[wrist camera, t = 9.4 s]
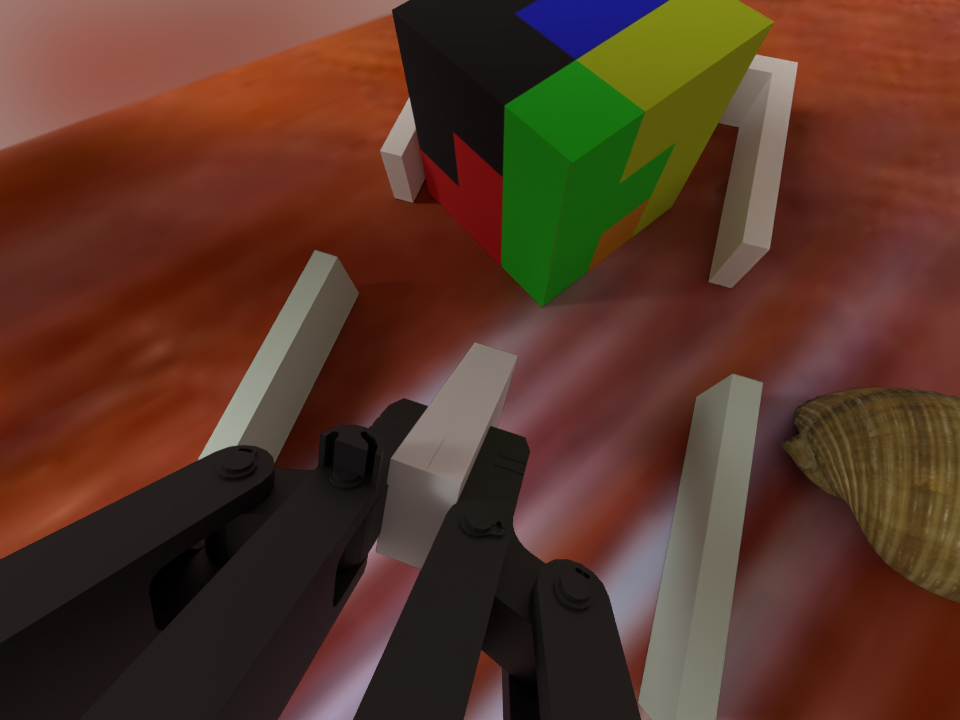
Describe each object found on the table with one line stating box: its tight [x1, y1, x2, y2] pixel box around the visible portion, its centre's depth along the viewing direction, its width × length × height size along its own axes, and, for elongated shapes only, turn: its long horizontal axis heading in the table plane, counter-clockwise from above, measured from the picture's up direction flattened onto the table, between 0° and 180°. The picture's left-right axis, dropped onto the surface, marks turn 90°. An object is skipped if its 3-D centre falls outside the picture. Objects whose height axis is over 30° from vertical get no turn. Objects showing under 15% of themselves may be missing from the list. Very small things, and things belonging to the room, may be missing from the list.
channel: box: [198, 250, 763, 720], centre depth 19 cm, size 20×13×4 cm, turn 71°
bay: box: [380, 55, 798, 288], centre depth 25 cm, size 19×13×4 cm, turn 71°
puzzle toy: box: [392, 0, 774, 307], centre depth 21 cm, size 10×10×10 cm
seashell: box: [781, 387, 960, 604], centre depth 18 cm, size 10×7×8 cm
